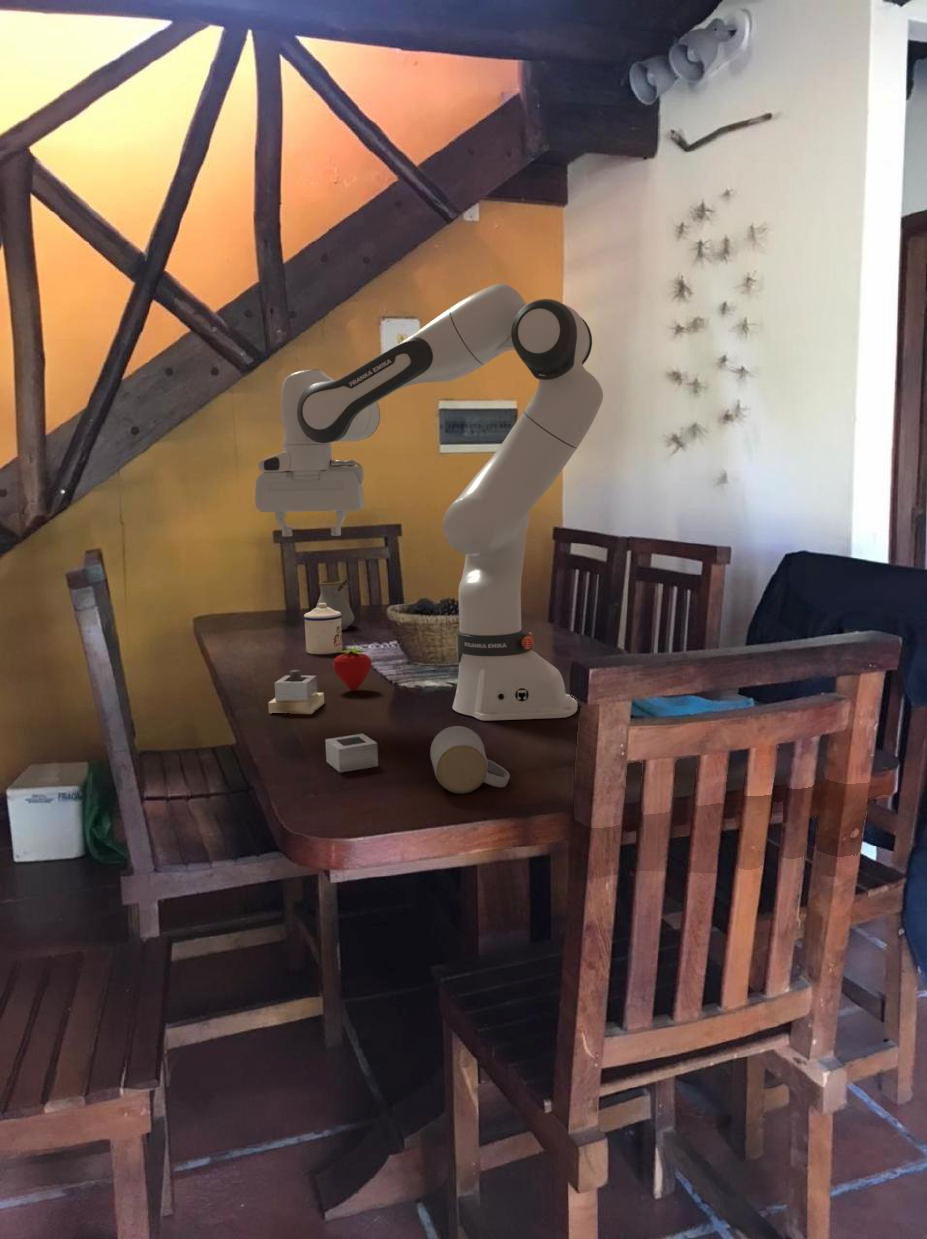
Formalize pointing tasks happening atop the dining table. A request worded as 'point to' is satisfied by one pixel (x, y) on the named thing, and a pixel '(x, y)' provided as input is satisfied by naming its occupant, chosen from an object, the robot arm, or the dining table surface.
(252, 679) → the dining table surface
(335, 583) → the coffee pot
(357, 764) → the white square box
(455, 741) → the ceramic mug
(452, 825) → the dining table surface
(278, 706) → the block
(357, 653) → the strawberry
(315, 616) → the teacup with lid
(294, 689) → the end link
